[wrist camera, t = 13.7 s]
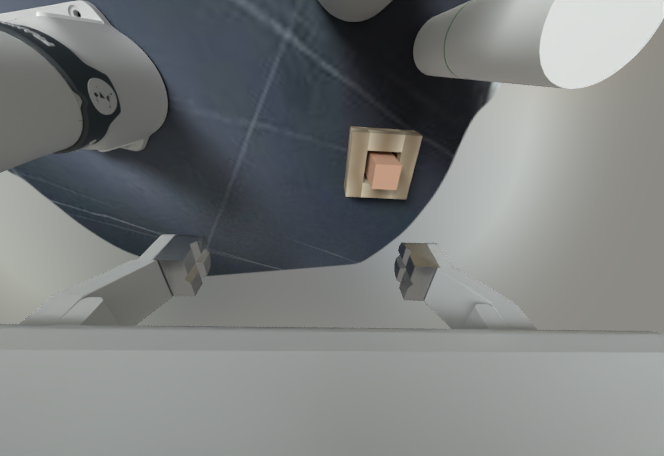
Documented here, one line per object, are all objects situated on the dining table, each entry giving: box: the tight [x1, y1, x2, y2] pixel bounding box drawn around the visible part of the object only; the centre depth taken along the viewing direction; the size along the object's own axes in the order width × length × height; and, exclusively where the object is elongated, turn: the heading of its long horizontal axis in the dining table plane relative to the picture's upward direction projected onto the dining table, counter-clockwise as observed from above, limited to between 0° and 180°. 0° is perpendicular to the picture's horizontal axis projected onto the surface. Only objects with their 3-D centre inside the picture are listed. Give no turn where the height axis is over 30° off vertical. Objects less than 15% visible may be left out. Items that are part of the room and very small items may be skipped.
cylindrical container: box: [413, 0, 664, 89], centre depth 25 cm, size 7×7×25 cm
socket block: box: [344, 126, 422, 199], centre depth 43 cm, size 11×11×4 cm
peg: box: [365, 151, 402, 190], centre depth 41 cm, size 4×4×8 cm
